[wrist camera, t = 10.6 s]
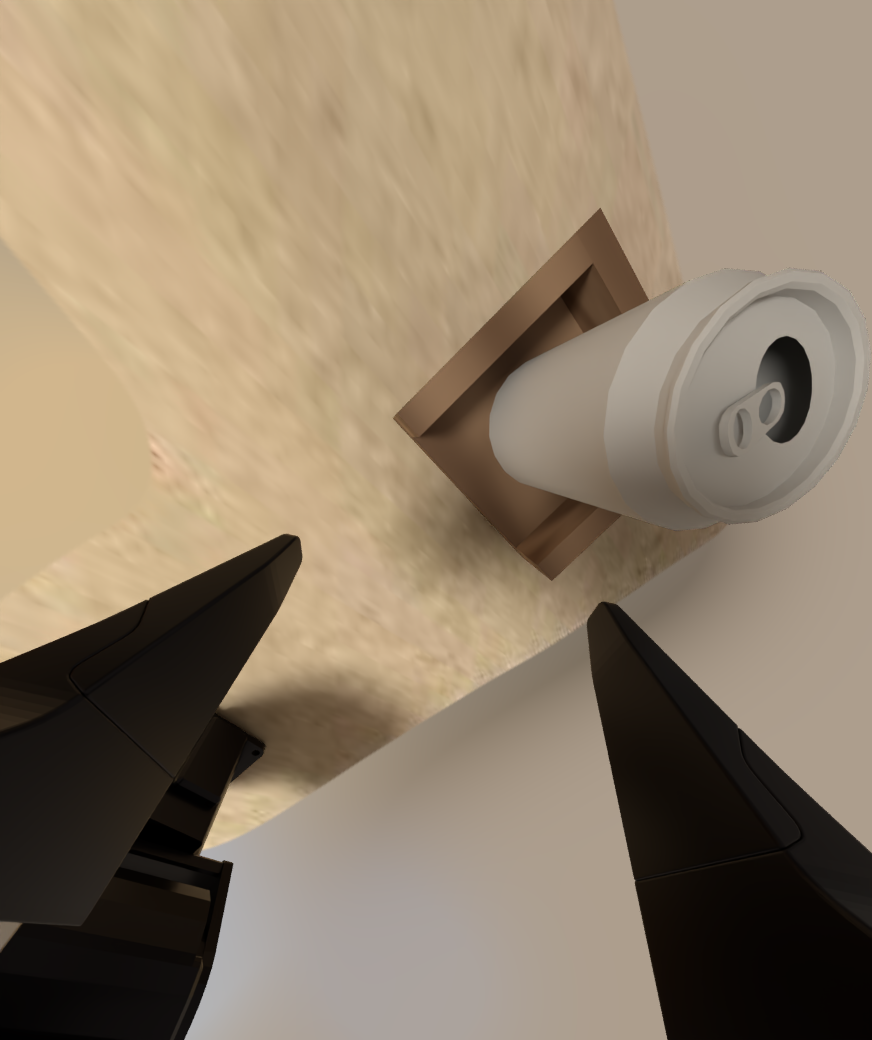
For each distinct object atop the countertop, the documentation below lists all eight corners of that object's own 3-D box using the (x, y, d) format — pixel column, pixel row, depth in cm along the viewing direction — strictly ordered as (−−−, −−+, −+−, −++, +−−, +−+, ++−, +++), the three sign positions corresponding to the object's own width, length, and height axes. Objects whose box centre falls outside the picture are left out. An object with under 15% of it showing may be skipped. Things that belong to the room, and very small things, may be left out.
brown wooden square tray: (521, 556, 22) (551, 580, 19) (392, 418, 18) (397, 413, 15) (655, 428, 22) (714, 426, 18) (552, 256, 18) (600, 207, 14)
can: (610, 450, 20) (904, 465, 9) (512, 506, 20) (691, 595, 9) (572, 335, 18) (906, 162, 7) (462, 397, 18) (616, 326, 6)
